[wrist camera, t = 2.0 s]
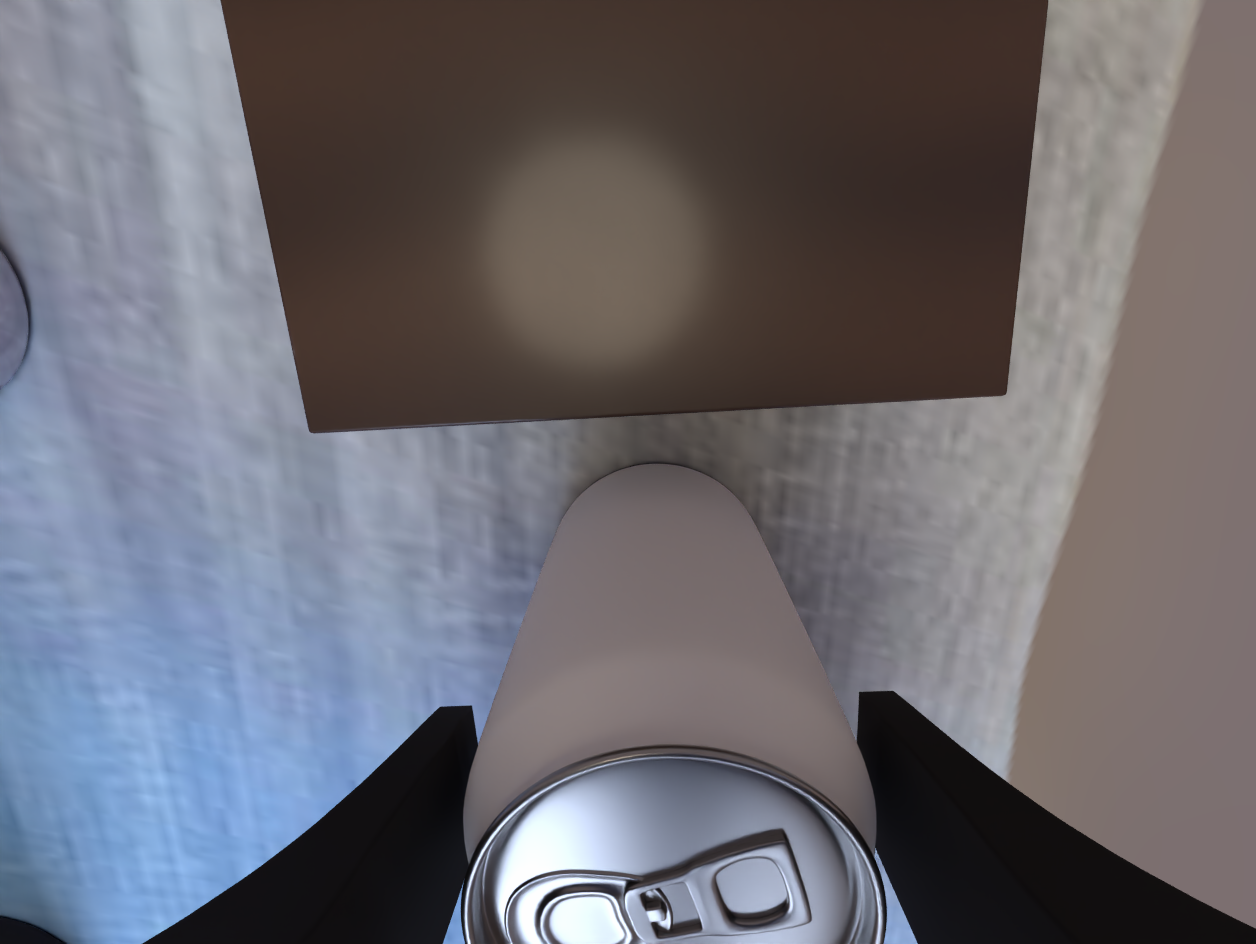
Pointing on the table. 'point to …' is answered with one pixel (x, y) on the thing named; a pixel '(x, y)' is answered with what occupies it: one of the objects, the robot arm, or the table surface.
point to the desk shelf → (639, 201)
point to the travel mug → (23, 933)
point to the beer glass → (11, 322)
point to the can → (667, 744)
